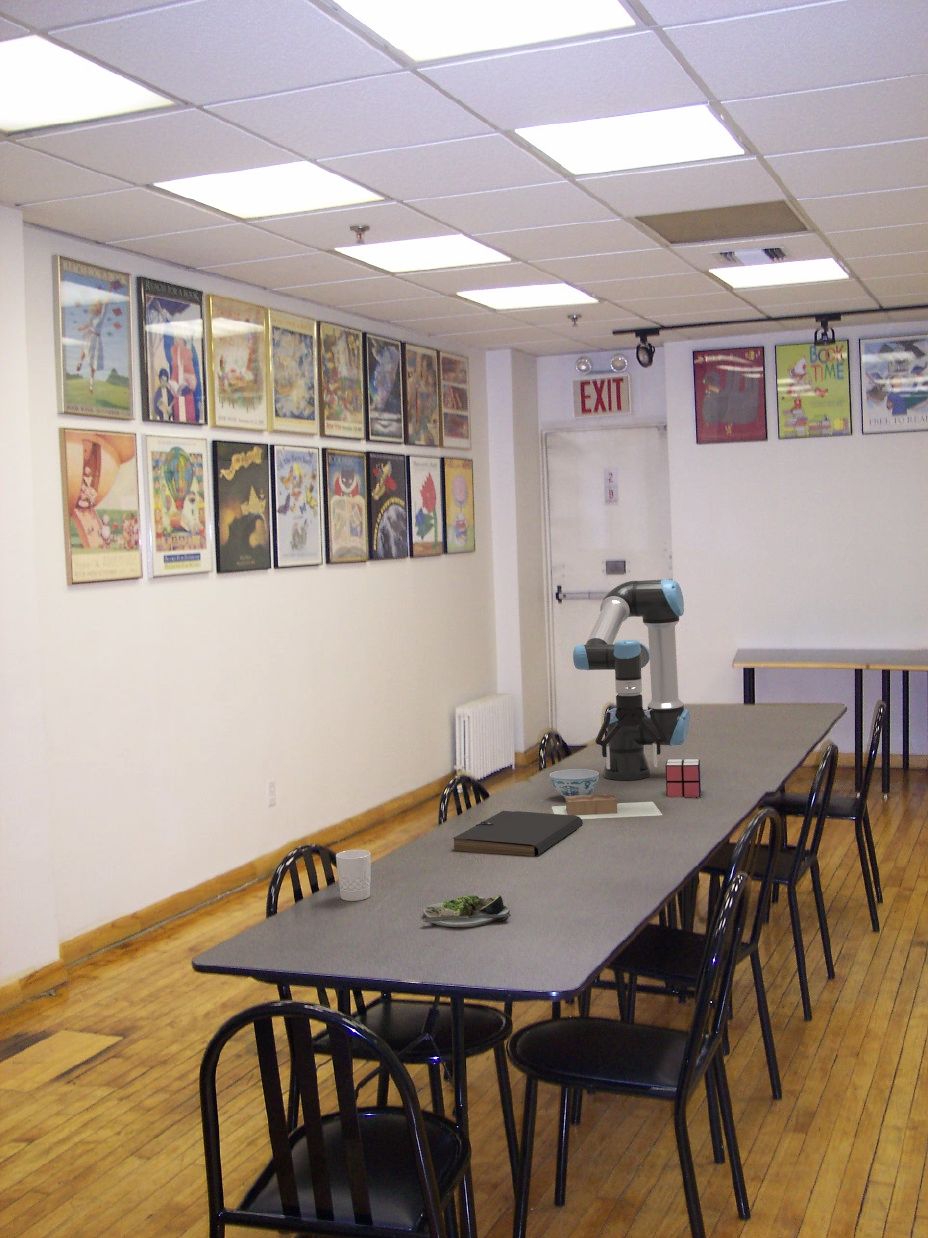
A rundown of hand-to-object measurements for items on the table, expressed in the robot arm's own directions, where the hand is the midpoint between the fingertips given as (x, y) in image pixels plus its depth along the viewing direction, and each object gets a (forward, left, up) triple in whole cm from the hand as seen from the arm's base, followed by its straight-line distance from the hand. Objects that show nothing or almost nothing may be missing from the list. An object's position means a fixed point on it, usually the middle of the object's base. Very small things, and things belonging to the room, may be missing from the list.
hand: (631, 767), depth 353 cm
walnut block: (0, -5, -10) cm, 11 cm away
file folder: (+26, -34, -14) cm, 45 cm away
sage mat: (0, -8, -13) cm, 15 cm away
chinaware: (-20, -15, -13) cm, 28 cm away
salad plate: (+92, -48, -13) cm, 105 cm away
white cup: (+74, -74, -13) cm, 105 cm away
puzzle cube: (-19, +18, -13) cm, 29 cm away
